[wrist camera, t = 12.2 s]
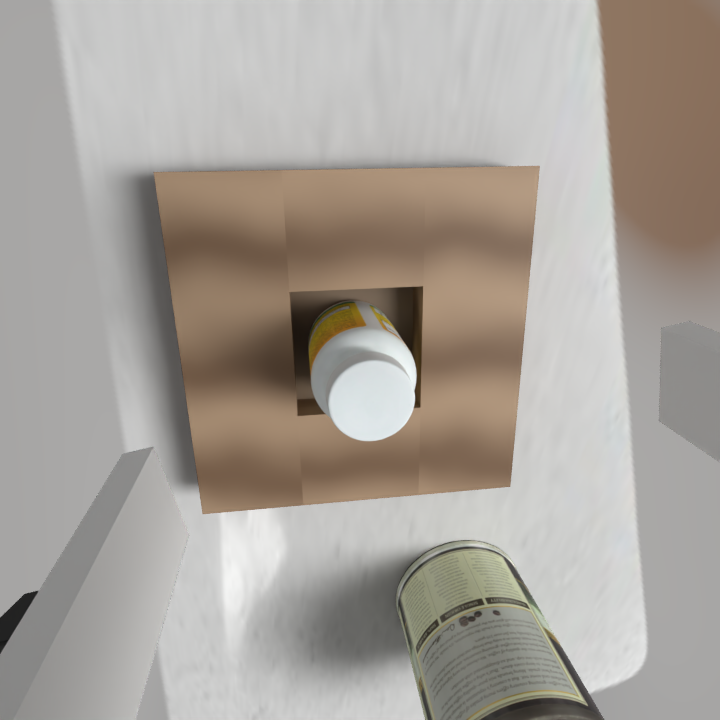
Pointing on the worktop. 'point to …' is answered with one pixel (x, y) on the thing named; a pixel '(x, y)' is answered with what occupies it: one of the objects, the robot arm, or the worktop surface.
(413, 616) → the coffee can
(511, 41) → the worktop surface
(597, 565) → the worktop surface
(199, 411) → the socket block
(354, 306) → the supplement bottle
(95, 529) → the robot arm
